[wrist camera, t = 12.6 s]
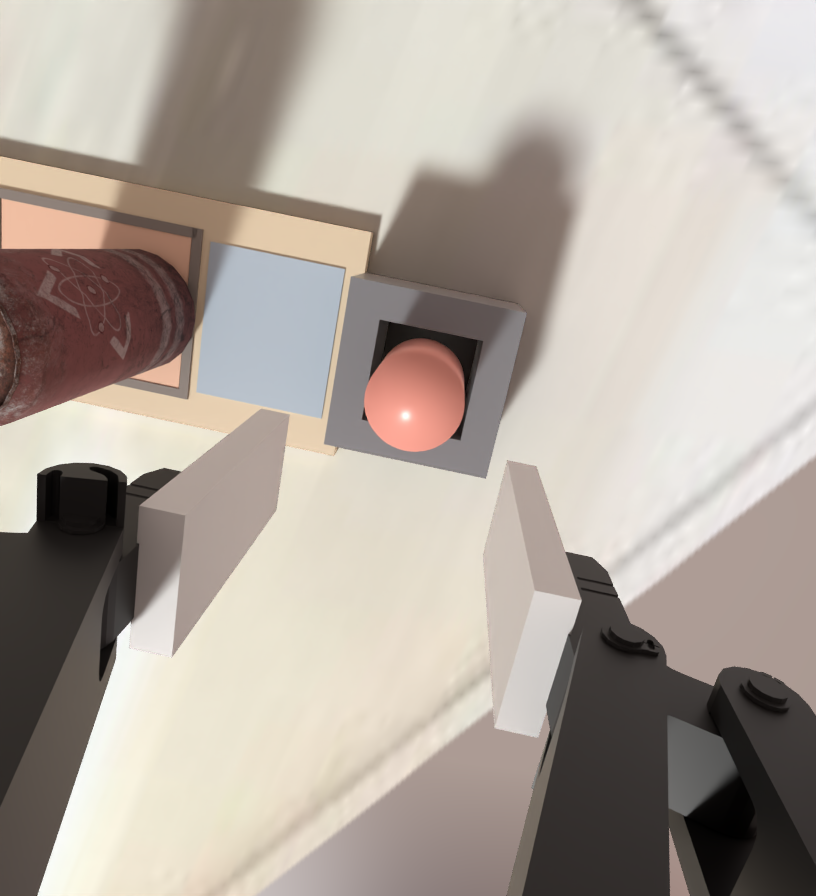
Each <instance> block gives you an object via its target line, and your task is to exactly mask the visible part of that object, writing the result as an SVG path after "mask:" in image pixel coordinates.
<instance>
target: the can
mask: <svg viewBox="0 0 816 896" xmlns="http://www.w3.org/2000/svg"><path fill="white" fill-rule="evenodd" d="M194 324H195V312H194V301H193V299H192V296H191V294H190V291H189V289H188V286H187V284H186V282H185V281H184V279H183V278H182V277H181V275H180V274H179V273H178V272H177V270H176V269H175V268H174V267H173V266H172V265H171V264H169V263H168V262H167V261H165V260H164V259H162V258H161V257H160V256H158V255H156V254H153V253H150V252H147V251H144V250H141V249H0V426H2V425H5V424H8V423H11V422H14V421H16V420H19V419H22V418H24V417H27V416H30V415H32V414H35V413H38V412H40V411H43V410H46V409H48V408H51V407H53V406H56V405H59V404H61V403H64V402H67V401H69V400H72V399H75V398H77V397H80V396H83V395H85V394H88V393H91V392H93V391H96V390H99V389H101V388H104V387H106V386H109V385H112V384H114V383H117V382H120V381H122V380H125V379H128V378H130V377H133V376H136V375H138V374H141V373H144V372H146V371H149V370H152V369H154V368H157V367H159V366H162V365H165V364H167V363H170V362H171V361H172V360H173V359H175V358H176V357H177V356H179V355H180V354H181V353H182V352H183V351H184V349H185V347H186V346H187V344H188V342H189V341H190V339H191V337H192V333H193V328H194Z"/></svg>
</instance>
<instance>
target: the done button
mask: <svg viewBox="0 0 816 896" xmlns="http://www.w3.org/2000/svg"><path fill="white" fill-rule="evenodd" d="M464 405H465V396H464V373H463V369H462V366H461V364H460V362H459V360H458V358H457V357H456V355H455V354H454V353H453V352H452V351H451V350H450V349H449V348H448V347H447V346H445V345H443V344H442V343H440V342H438V341H435V340H432V339H426V338H415V339H410V340H407V341H404V342H402V343H400V344H398V345H397V346H395V347H394V348H393V349H392V350H391V351H390V352H389V353H388V354H387V355H386V357H385V358H384V359H383V361H382V362H381V364H380V365H379V366H378V368H377V369H376V371H375V372H374V373H373V375H372V377H371V378H370V380H369V382H368V385H367V387H366V391H365V397H364V407H365V413H366V416H367V419H368V422H369V424H370V426H371V427H372V429H373V430H374V432H375V433H376V434H377V435H378V436H379V437H380V438H381V439H382V440H383V441H384V442H386V443H387V444H389V445H391V446H393V447H395V448H397V449H400V450H404V451H410V452H419V451H426V450H430V449H433V448H436V447H438V446H439V445H441V444H443V443H444V442H446V441H447V440H448V439H449V438H450V437H451V436H452V435H453V434H454V433H455V431H456V430H457V428H458V427H459V425H460V423H461V420H462V417H463V414H464Z"/></svg>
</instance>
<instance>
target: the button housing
mask: <svg viewBox="0 0 816 896" xmlns="http://www.w3.org/2000/svg"><path fill="white" fill-rule="evenodd" d="M526 315H527V312H526V311H525V310H524V309H523V308H522V307H521V306H520V305H519V304H517V303H512V302H507V301H502V300H498V299H493V298H488V297H483V296H478V295H473V294H468V293H464V292H459V291H454V290H449V289H444V288H439V287H435V286H430V285H425V284H420V283H415V282H410V281H405V280H401V279H396V278H391V277H386V276H381V275H376V274H372V273H363V274H359V275H355V276H351V279H350V285H349V291H348V298H347V304H346V310H345V316H344V322H343V329H342V335H341V341H340V347H339V353H338V359H337V366H336V372H335V378H334V384H333V390H332V397H331V403H330V409H329V415H328V421H327V427H326V434H325V440H324V444H325V445H330V446H334V447H339V448H344V449H349V450H353V451H358V452H363V453H368V454H372V455H377V456H382V457H386V458H391V459H396V460H401V461H405V462H410V463H415V464H420V465H424V466H429V467H434V468H438V469H443V470H448V471H453V472H457V473H462V474H467V475H472V476H476V477H481V478H486V476H487V472H488V468H489V464H490V460H491V456H492V452H493V448H494V444H495V440H496V436H497V432H498V428H499V424H500V420H501V416H502V412H503V408H504V404H505V400H506V396H507V392H508V387H509V383H510V379H511V375H512V371H513V367H514V363H515V359H516V355H517V351H518V347H519V343H520V339H521V335H522V331H523V327H524V323H525V319H526ZM389 322H394V323H399V324H404V325H408V326H413V327H418V328H423V329H428V330H433V331H437V332H442V333H447V334H452V335H457V336H461V337H466V338H471V339H476V340H478V341H477V346H476V350H475V354H474V359H473V363H472V367H471V372H470V376H469V381H468V385H467V389H466V394H465V405H464V414H463V417H462V420H461V423H460V425H459V427H458V428H457V430H456V431H455V433H454V434H453V435H452V436H451V437H450V438H449V439H448V440H447V441H446V442H444V443H443V444H441V445H439V446H438V447H436V448H433V449H430V450H426V451H419V452H410V451H404V450H400V449H397V448H395V447H393V446H391V445H389V444H387V443H386V442H384V441H383V440H382V439H381V438H380V437H379V436H378V435H377V434H376V433H375V432H374V430H373V429H372V427H371V426H370V424H369V422H368V419H367V416H366V413H365V407H364V397H365V391H366V387H367V385H368V382H369V380H370V378H371V377H372V375H373V373H374V372H375V371H376V369H377V368H378V366H379V365H380V364H381V362H382V357H383V351H384V346H385V340H386V335H387V330H388V324H389Z"/></svg>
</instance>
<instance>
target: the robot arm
mask: <svg viewBox="0 0 816 896" xmlns="http://www.w3.org/2000/svg"><path fill="white" fill-rule="evenodd" d="M289 417H290V414H285V413H280V412H276V411H271V410H266V409H260V410H259V411H257V412H256V413H255V414H254V415H252V416H251V417H250V418H249V419H247V420H246V421H245V422H244V423H242V424H241V425H240V426H239V427H237V428H236V429H235V430H234V431H232V432H231V433H230V434H228V435H227V436H226V437H225V438H223V439H222V440H221V441H220V442H218V443H217V444H216V445H215V446H213V447H212V448H211V449H210V450H208V451H207V452H206V453H205V454H203V455H202V456H201V457H200V458H198V459H197V460H196V461H195V462H193V463H192V464H191V465H190V466H188V467H187V468H186V469H185V470H183V471H182V472H180V471H176V470H171V469H166V468H163V469H159V470H156V471H153V472H149V473H146V474H143V475H142V476H140V477H139V478H137V479H136V480H135V481H133V482H132V483H131V484H130V485H128V486H127V476H126V475H125V474H124V473H122V472H121V471H120V470H117V469H115V468H112V467H110V466H105V465H99V464H94V463H70V464H60V465H56V466H53V467H49V468H46V469H44V470H43V471H41V472H40V473H38V474H37V521H36V522H35V524H34V525H33V527H32V528H31V529H30V531H29V532H28V533H7V532H0V896H37V895H38V892H39V889H40V886H41V883H42V880H43V876H44V873H45V870H46V867H47V864H48V861H49V858H50V855H51V852H52V849H53V846H54V843H55V840H56V837H57V834H58V831H59V828H60V825H61V822H62V819H63V816H64V813H65V810H66V807H67V804H68V801H69V798H70V795H71V792H72V789H73V786H74V783H75V780H76V777H77V774H78V771H79V768H80V765H81V762H82V759H83V756H84V753H85V750H86V747H87V744H88V741H89V738H90V735H91V732H92V729H93V726H94V723H95V720H96V717H97V714H98V711H99V708H100V705H101V702H102V699H103V696H104V693H105V690H106V687H107V684H108V681H109V678H110V675H111V672H112V669H113V666H114V663H115V660H116V647H117V636H118V635H119V634H120V633H121V632H122V630H123V629H124V628H125V627H126V626H127V625H128V624H129V623H130V621H131V631H130V645H129V648H130V649H135V650H139V651H144V652H148V653H153V654H158V655H162V656H167V657H171V658H172V657H173V655H174V654H175V652H176V651H177V650H178V648H179V647H180V645H181V644H182V643H183V641H184V640H185V638H186V637H187V635H188V634H189V633H190V631H191V630H192V628H193V627H194V626H195V624H196V623H197V621H198V620H199V619H200V617H201V616H202V614H203V613H204V612H205V610H206V609H207V607H208V606H209V604H210V603H211V602H212V600H213V599H214V597H215V596H216V595H217V593H218V592H219V590H220V589H221V588H222V586H223V585H224V583H225V582H226V580H227V579H228V578H229V576H230V575H231V573H232V572H233V571H234V569H235V568H236V566H237V565H238V564H239V562H240V561H241V559H242V558H243V557H244V555H245V554H246V552H247V551H248V549H249V548H250V547H251V545H252V544H253V542H254V541H255V540H256V538H257V537H258V535H259V534H260V533H261V531H262V530H263V528H264V527H265V526H266V524H267V523H268V521H269V520H270V518H271V517H272V516H273V514H274V513H275V511H276V508H277V501H278V494H279V487H280V480H281V473H282V466H283V459H284V452H285V445H286V438H287V431H288V424H289ZM483 562H484V577H485V592H486V607H487V622H488V637H489V651H490V666H491V681H492V696H493V711H494V726H495V728H496V729H501V730H505V731H510V732H515V733H519V734H524V735H528V736H533V737H537V738H538V737H539V733H540V730H541V727H542V724H543V721H544V718H545V714H546V711H547V715H548V720H549V725H550V732H549V735H548V738H547V741H546V744H545V748H544V751H543V754H542V757H541V760H540V763H539V766H538V769H537V772H536V775H535V778H534V782H533V785H532V789H533V793H532V797H531V801H530V806H529V809H528V813H527V817H526V821H525V825H524V829H523V833H522V837H521V840H520V845H519V848H518V852H517V856H516V860H515V864H514V868H513V872H512V876H511V880H510V884H509V887H508V891H507V895H506V896H670V874H669V828H670V831H671V835H672V838H673V841H674V845H675V848H676V851H677V855H678V858H679V861H680V864H681V868H682V871H683V874H684V878H685V881H686V884H687V887H688V890H689V894H690V896H816V715H815V714H814V712H813V711H812V709H811V708H810V706H809V705H808V704H807V703H806V702H805V701H804V700H803V699H802V698H801V697H800V696H799V695H798V694H797V693H796V692H794V691H793V690H791V689H790V688H789V687H787V686H786V685H785V684H784V683H783V682H782V681H780V680H778V679H776V678H774V679H773V678H772V676H771V675H768V674H766V673H764V672H757V671H754V670H751V669H748V668H741V667H729V668H725V669H723V670H722V671H721V672H720V674H719V675H718V678H717V680H716V682H715V685H714V686H711V685H709V684H707V683H704V682H701V681H699V680H697V679H694V678H692V677H689V676H687V675H684V674H682V673H680V672H678V671H675V670H673V669H671V668H669V667H668V666H667V665H666V654H665V651H664V648H663V646H662V645H661V644H660V643H659V642H658V641H657V640H656V639H655V638H654V637H653V636H652V635H650V634H649V633H647V632H646V631H644V630H643V629H641V628H639V627H637V626H635V625H633V624H631V623H630V621H629V619H628V617H627V614H626V612H625V610H624V608H623V606H622V603H621V601H620V599H619V598H618V594H617V592H616V590H615V588H614V587H613V583H612V581H611V579H610V576H609V574H608V572H607V571H606V570H605V569H604V568H603V567H602V566H601V565H600V564H599V563H598V562H597V561H596V560H595V559H593V558H592V557H588V556H583V555H578V554H574V553H569V552H565V550H564V547H563V544H562V541H561V538H560V535H559V532H558V529H557V526H556V523H555V520H554V517H553V514H552V511H551V508H550V505H549V502H548V499H547V496H546V494H545V491H544V488H543V485H542V482H541V479H540V476H539V473H538V470H537V467H536V466H532V465H527V464H522V463H517V462H513V461H508V460H507V463H506V467H505V471H504V475H503V479H502V483H501V486H500V490H499V494H498V498H497V502H496V506H495V510H494V514H493V518H492V521H491V525H490V529H489V533H488V537H487V541H486V545H485V549H484V553H483Z"/></svg>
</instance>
